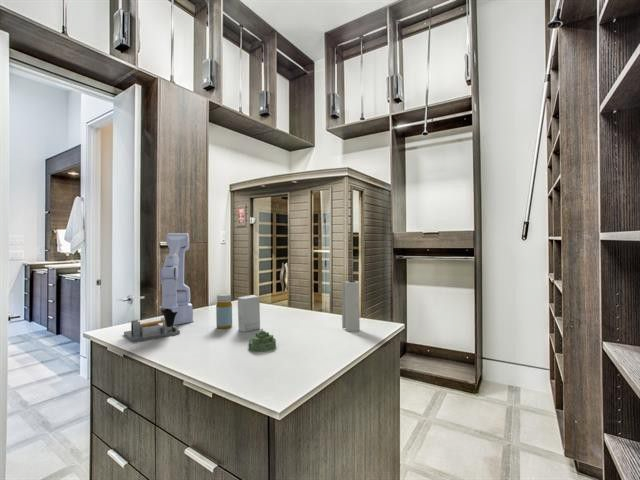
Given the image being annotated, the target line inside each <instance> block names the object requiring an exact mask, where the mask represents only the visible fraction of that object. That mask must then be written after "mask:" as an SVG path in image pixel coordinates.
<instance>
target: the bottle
mask: <svg viewBox="0 0 640 480" xmlns="http://www.w3.org/2000/svg"><path fill="white" fill-rule="evenodd" d="M216 297H217V298H216V306H215V310H216V316H215V317H216V318H215V319H216V328H217V329H222V330H223V329H230V328H232V326H233V303H232V294H231V293H220V294H217V296H216Z"/></svg>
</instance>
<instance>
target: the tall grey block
mask: <svg viewBox="0 0 640 480" xmlns="http://www.w3.org/2000/svg"><path fill="white" fill-rule="evenodd" d="M341 316H342V317H341V322H342V324H341V325H342V326H341V327H342V329H345V331H346V332H351V333H352V332H353V333H355V332H360V330H361V329H360V328H361V326H360V321H361V320H360V282H359V281H358V280H344V281H343V280H342V281H341Z"/></svg>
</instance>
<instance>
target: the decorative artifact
mask: <svg viewBox="0 0 640 480" xmlns="http://www.w3.org/2000/svg"><path fill="white" fill-rule="evenodd" d="M260 329H261V330H259V331H258V332H255V335H253V336H252V337H253V338H251V339H249V340H248V350H250V351H251V352H258V353H262V352H264V353H265V352H269V351H273V350H274V349H276V347H277V339H276V338H274V334H270V332H266V331H265V330H264V329H263V328H260Z"/></svg>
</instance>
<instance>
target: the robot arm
mask: <svg viewBox="0 0 640 480" xmlns="http://www.w3.org/2000/svg"><path fill="white" fill-rule="evenodd" d="M165 240H166V241H165V242H166V245H167V248H168V249H169V251H168V252H169V253H168V254H167V255H166V256H165V259H164V262H163V267H162V268H160V270H159V271H160V272H159V276H160V277H159V278H160V284H161V305H159V309H163V310H161V313H162V315H163V318H165V321H166V325H167V327H172V326H173V325H174V326H176V325H181V324H188V323H193V322H194V316H193V315H194V307H193V304H192V303H191V288H190V287H189V286H188V285H187V284H185V255H186V251H189V249H190V234H189V233H188V232H183V233H182V232H177V233H176V232H174V233H173V232H168V233H166V238H165Z"/></svg>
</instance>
